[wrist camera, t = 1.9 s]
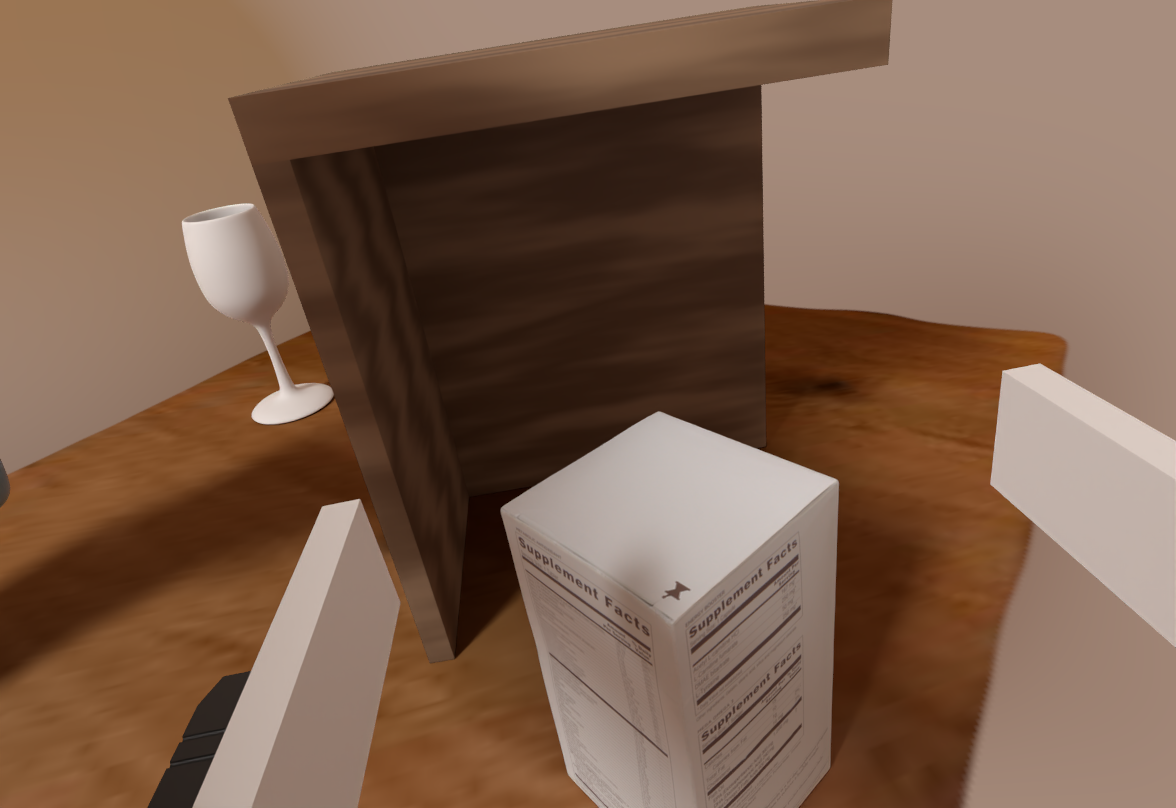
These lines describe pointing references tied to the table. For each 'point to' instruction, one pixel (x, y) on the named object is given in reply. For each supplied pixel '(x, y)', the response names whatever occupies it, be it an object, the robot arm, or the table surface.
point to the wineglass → (249, 293)
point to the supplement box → (683, 617)
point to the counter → (535, 251)
